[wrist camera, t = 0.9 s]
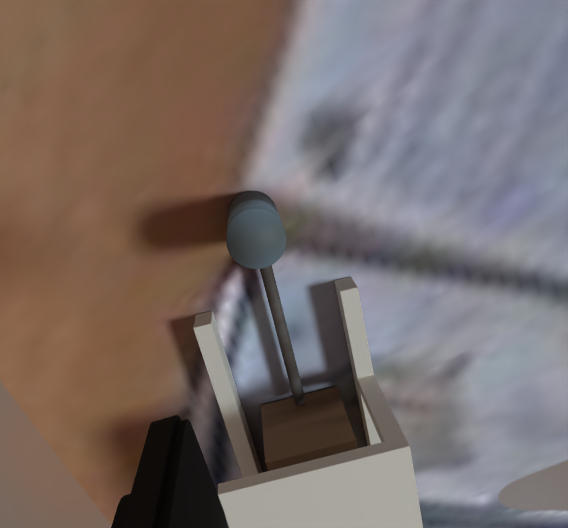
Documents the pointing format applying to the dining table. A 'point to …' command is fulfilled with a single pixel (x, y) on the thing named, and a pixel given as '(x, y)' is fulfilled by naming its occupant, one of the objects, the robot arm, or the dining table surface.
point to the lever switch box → (323, 471)
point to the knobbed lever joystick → (285, 348)
